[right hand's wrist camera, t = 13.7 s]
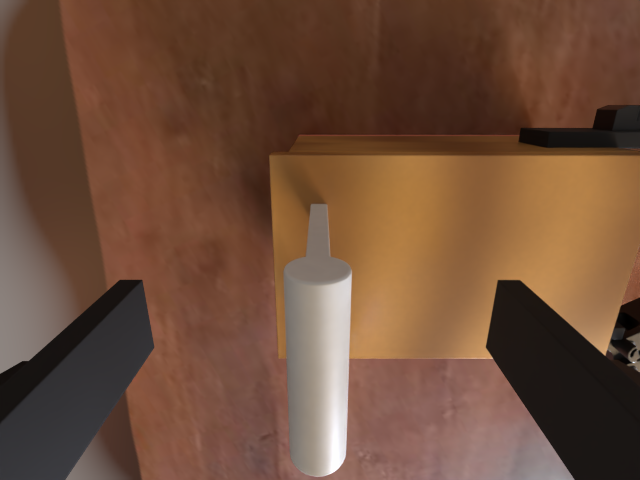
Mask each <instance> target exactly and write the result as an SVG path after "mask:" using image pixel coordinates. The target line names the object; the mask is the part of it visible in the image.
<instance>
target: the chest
mask: <svg viewBox="0 0 640 480" xmlns="http://www.w3.org/2000/svg"><path fill="white" fill-rule="evenodd" d="M518 141H519V135H298V138H297V139H296V141H295V142H294V144H293V146H292V147H291V149H290V150H289V152H640V151H635V150H629V149H622V148H545V147H540V146H535V145H530V144H526V143H521V142H518Z"/></svg>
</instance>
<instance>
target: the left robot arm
mask: <svg viewBox="0 0 640 480" xmlns="http://www.w3.org/2000/svg"><path fill="white" fill-rule="evenodd" d="M518 142H521V143H526V144H530V145H535V146H540V147H545V148H640V105H607V106H605V107H602V108H599V109H597V112H596V116H595V121H594V125H593V128H521V129H520V135H519V141H518ZM605 356H606V357H607V358H608V359H609V360H619V361H621V362H622V363H624V364H626V365H628V366H629V367H631V368H633V369H635V370H637V371H638V372H640V298H638V299H635V300H633V301H631V302H629V303H626V304H624V305H622V306H621V307H620V310H619V313H618V317H617V320H616V323H615V326H614V329H613V333H612V336H611V339H610V342H609V346H608V349H607V352H606V355H605Z"/></svg>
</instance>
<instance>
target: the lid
mask: <svg viewBox="0 0 640 480" xmlns="http://www.w3.org/2000/svg"><path fill="white" fill-rule="evenodd" d="M269 167H270V189H271V211H272V233H273V255H274V278H275V300H276V322H277V344H278V358H287V386H288V414H289V441H290V456H291V460H292V462H293V463H294V465H295V466H296V467H297V468H298V469H299V470H300V471H301V472H303V473H305V474H307V475H310V476H325V475H329V474H331V473H333V472H334V471H336V470H337V469H338V468H339V467H340V466H341V464H342V463H343V461H344V459H345V456H346V437H347V406H348V375H349V358H483V359H493V358H492V356H491V355H490V353H489V352H488V350H487V349H486V343H487V337H488V332H489V326H490V321H491V315H492V309H493V304H494V298H495V293H496V287H497V281H498V280H521V281H522V282H523V283H524V284H525V285H526V286H527V287H529V288H530V289H531V290H532V291H533V292H534V293H535V294H536V295H538V296H539V297H540V298H541V299H542V300H543V301H544V302H545V303H547V304H548V305H549V306H550V307H551V308H552V309H553V310H554V311H556V312H557V313H558V314H559V315H560V316H561V317H562V318H563V319H565V320H566V321H567V322H568V323H569V324H570V325H571V326H572V327H573V328H575V329H576V330H577V331H578V332H579V333H580V334H581V335H582V336H584V337H585V338H586V339H587V340H588V341H589V342H590V343H591V344H593V345H594V346H595V347H596V348H597V349H598V350H599V351H600V352H602V353H603V354H604V355H606V352H607V349H608V346H609V342H610V339H611V336H612V333H613V329H614V326H615V323H616V320H617V317H618V313H619V310H620V307H621V304H622V301H623V297H624V294H625V291H626V288H627V284H628V281H629V278H630V275H631V272H632V268H633V265H634V262H635V259H636V256H637V252H638V249H639V246H640V152H272V153H271V154H270V155H269Z"/></svg>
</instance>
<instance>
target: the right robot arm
mask: <svg viewBox="0 0 640 480" xmlns="http://www.w3.org/2000/svg"><path fill="white" fill-rule="evenodd" d="M153 349H154V343H153V337H152V332H151V326H150V321H149V315H148V309H147V304H146V298H145V293H144V287H143V282H142V280H119V281H118V282H117V283H116V284H115V285H114V286H113V287H111V288H110V289H109V290H108V291H107V292H106V293H105V294H104V295H102V296H101V297H100V298H99V299H98V300H97V301H96V302H95V303H93V304H92V305H91V306H90V307H89V308H88V309H87V310H86V311H84V312H83V313H82V314H81V315H80V316H79V317H78V318H77V319H75V320H74V321H73V322H72V323H71V324H70V325H69V326H68V327H67V328H65V329H64V330H63V331H62V332H61V333H60V334H59V335H58V336H56V337H55V338H54V339H53V340H52V341H51V342H50V343H49V344H47V345H46V346H45V347H44V348H43V349H42V350H41V351H40V352H38V353H37V354H36V355H35V356H34V357H33V358H32V359H31V360H29V361H22V362H20V363H19V364H17V365H15V366H13V367H12V368H10V369H8V370H6V371H4V372H3V373H1V374H0V480H65V479H66V478H67V476H68V475H69V473H70V472H71V470H72V469H73V467H74V466H75V464H76V463H77V461H78V460H79V459H80V457H81V456H82V454H83V452H84V451H85V450H86V448H87V447H88V445H89V444H90V442H91V441H92V439H93V438H94V436H95V435H96V433H97V432H98V430H99V429H100V427H101V426H102V424H103V423H104V421H105V420H106V418H107V417H108V415H109V414H110V413H111V411H112V409H113V408H114V407H115V405H116V404H117V402H118V401H119V399H120V398H121V396H122V395H123V393H124V392H125V390H126V389H127V387H128V386H129V384H130V383H131V381H132V380H133V378H134V377H135V375H136V374H137V372H138V371H139V369H140V368H141V367H142V365H143V364H144V362H145V361H146V359H147V358H148V356H149V355H150V353H151V352H152V350H153ZM486 349H487V350H488V352H489V353H490V355H491V356H492V358H493V359H494V361H495V362H496V364H497V365H498V367H499V368H500V369H501V371H502V372H503V374H504V375H505V377H506V378H507V380H508V381H509V383H510V384H511V386H512V387H513V389H514V390H515V392H516V393H517V395H518V396H519V398H520V399H521V401H522V402H523V404H524V405H525V407H526V408H527V410H528V411H529V413H530V414H531V416H532V417H533V418H534V420H535V421H536V423H537V424H538V426H539V427H540V429H541V430H542V432H543V433H544V435H545V436H546V438H547V439H548V441H549V442H550V444H551V445H552V447H553V448H554V450H555V451H556V453H557V454H558V456H559V457H560V459H561V460H562V462H563V463H564V464H565V466H566V467H567V469H568V470H569V472H570V473H571V475H572V476H573V478H574V479H575V480H640V372H638V371H637V370H635V369H633V368H631V367H629V366H628V365H626V364H624V363H622V362H621V361H619V360H609V359H608V358H607V357H606V356H605V355H604V354H603V353H602V352H600V351H599V350H598V349H597V348H596V347H595V346H594V345H593V344H591V343H590V342H589V341H588V340H587V339H586V338H585V337H584V336H582V335H581V334H580V333H579V332H578V331H577V330H576V329H575V328H573V327H572V326H571V325H570V324H569V323H568V322H567V321H566V320H565V319H563V318H562V317H561V316H560V315H559V314H558V313H557V312H556V311H554V310H553V309H552V308H551V307H550V306H549V305H548V304H547V303H545V302H544V301H543V300H542V299H541V298H540V297H539V296H538V295H536V294H535V293H534V292H533V291H532V290H531V289H530V288H529V287H527V286H526V285H525V284H524V283H523V282H522V281H521V280H498V281H497V287H496V293H495V298H494V304H493V309H492V315H491V321H490V326H489V332H488V337H487V343H486Z"/></svg>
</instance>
